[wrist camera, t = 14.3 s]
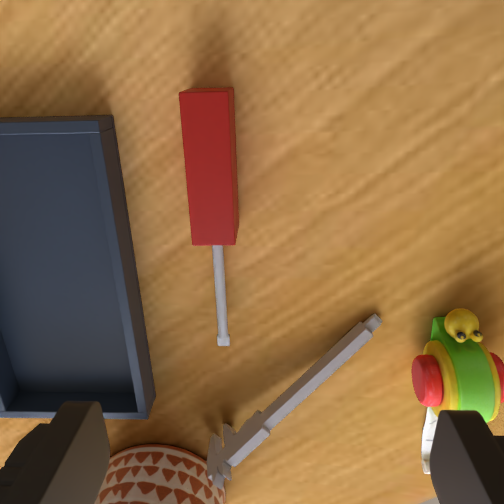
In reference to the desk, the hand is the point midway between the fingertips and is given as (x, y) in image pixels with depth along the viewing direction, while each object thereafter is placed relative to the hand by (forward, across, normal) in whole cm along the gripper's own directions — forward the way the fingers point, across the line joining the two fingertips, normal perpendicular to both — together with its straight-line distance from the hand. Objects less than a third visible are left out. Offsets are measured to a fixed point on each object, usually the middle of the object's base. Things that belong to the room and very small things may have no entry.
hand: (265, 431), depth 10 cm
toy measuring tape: (+24, -15, +19) cm, 34 cm away
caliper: (+24, -2, +19) cm, 30 cm away
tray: (+23, +18, +8) cm, 30 cm away
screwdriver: (+23, +4, +3) cm, 24 cm away
